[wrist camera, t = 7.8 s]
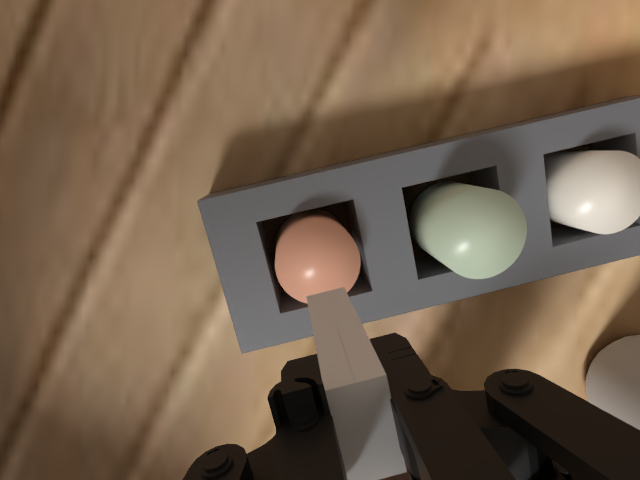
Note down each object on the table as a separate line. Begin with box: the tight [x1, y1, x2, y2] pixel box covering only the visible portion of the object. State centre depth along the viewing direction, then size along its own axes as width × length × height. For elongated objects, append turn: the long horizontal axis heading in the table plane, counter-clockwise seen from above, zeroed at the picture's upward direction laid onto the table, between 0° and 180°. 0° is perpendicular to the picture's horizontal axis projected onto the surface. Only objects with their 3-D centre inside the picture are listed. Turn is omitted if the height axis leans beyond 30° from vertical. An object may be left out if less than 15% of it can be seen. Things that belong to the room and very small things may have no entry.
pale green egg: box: [409, 182, 527, 279], centre depth 25 cm, size 5×5×5 cm
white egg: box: [543, 150, 640, 234], centre depth 28 cm, size 5×5×5 cm
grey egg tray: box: [197, 95, 640, 353], centre depth 28 cm, size 30×10×4 cm, turn 103°
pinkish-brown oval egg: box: [275, 209, 361, 304], centre depth 27 cm, size 5×5×5 cm
